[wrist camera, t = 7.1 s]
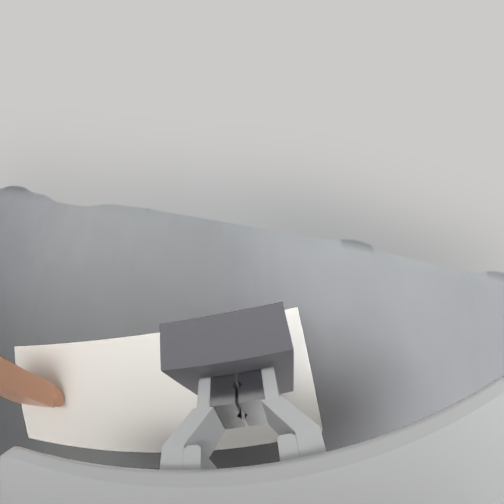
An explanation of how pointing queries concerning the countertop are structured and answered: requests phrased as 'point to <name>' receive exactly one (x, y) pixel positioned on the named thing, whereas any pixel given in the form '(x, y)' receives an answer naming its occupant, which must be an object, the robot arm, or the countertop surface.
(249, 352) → the rocker charcoal
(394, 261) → the countertop surface
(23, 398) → the rocker terracotta
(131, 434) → the switch box
